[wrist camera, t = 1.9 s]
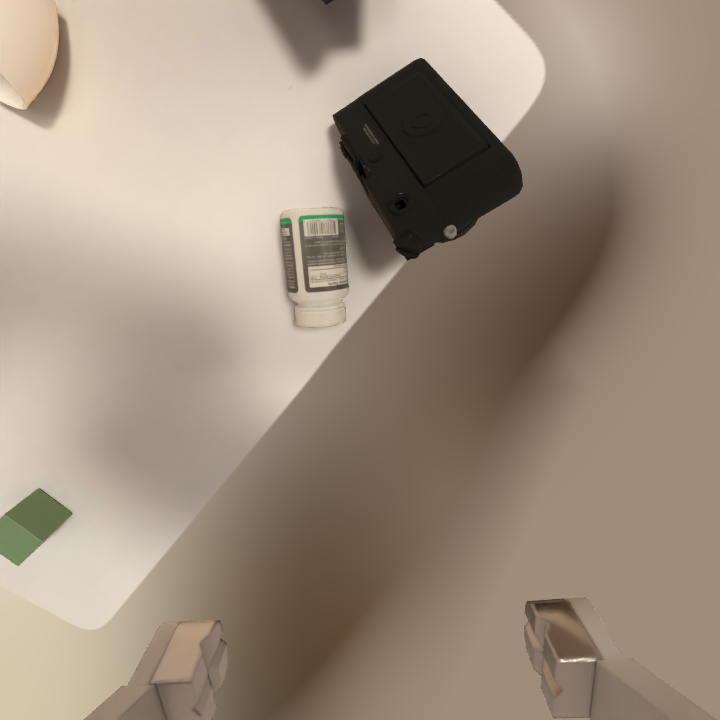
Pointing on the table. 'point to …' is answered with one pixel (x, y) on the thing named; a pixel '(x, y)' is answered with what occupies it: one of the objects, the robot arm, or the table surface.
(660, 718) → the robot arm
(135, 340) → the table surface
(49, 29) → the cup
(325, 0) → the crystal
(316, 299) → the pill bottle
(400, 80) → the camera
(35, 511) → the block sage
